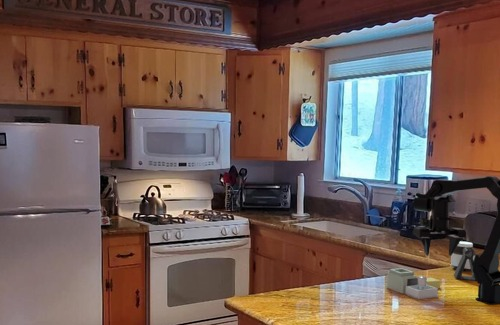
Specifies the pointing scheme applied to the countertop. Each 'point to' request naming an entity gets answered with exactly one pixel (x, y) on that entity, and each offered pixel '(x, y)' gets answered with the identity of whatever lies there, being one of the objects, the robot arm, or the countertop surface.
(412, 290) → the tray
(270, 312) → the countertop surface
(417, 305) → the countertop surface
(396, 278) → the grey-green hollow stepped block
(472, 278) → the phone stand
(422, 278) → the pin
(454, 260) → the spread jar
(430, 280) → the chock
